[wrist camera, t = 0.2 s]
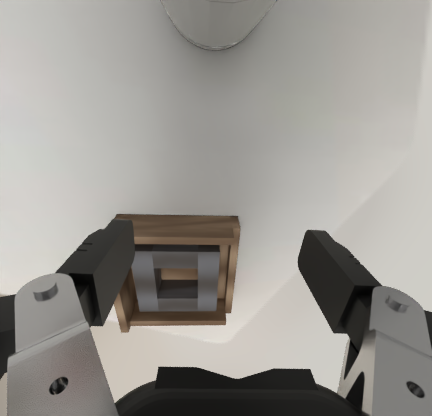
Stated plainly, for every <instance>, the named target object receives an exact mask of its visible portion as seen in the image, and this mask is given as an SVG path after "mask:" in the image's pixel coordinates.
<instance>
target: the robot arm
mask: <svg viewBox="0 0 432 416" xmlns="http://www.w3.org/2000/svg"><path fill="white" fill-rule="evenodd" d="M276 1H277V0H161V2H162V4H163V6H164V8H165V10H166V12H167V13H168V15H169V17H170V19H171V20H172V22H173V24H174V26H175V27H176V29H177V30H178V31H179V32H180V33H181V34H182V35H183V37H184V38H186V39H187V40H188V41H190V42H191V43H192V44H194V45H196V46H198V47H201V48H203V49H208V50H223V49H226V48H229V47H232V46H234V45H236V44H237V43H239V42H240V41H242V40H243V39H244V38H245V37H246V36H247V35H248V34H249V33H250V32H251V31H252V30H253V29H254V27H255V26H256V25H257V24H258V23H259V22H260V20H261V19H262V18H263V17H264V16H265V14H266V13H267V12H268V11H269V10H270V8H271V7H272V6H273V5H274V3H275V2H276ZM134 257H135V242H134V230H133V222H132V220H125V219H113V220H112V221H111V222H110V223H109V224H108V226H107V227H106V228H105V229H99V230H97V231H96V232H94V233H92V234H91V235H89V236H88V237H87V238H86V239H85V240H84V241H83V243H82V244H81V245H80V246H79V247H78V248H77V250H76V251H74V253H73V254H72V255H71V256H70V257H69V258H68V259H67V260H66V261H65V263H64V264H63V265H62V266H61V267H60V268H59V269H58V270H57V271H56V273H55V274H48V275H44V276H41V277H38V278H36V279H34V280H32V281H30V282H29V283H27V284H26V285H24V286H23V287H22V288H21V289H20V290H19V291H18V292H17V294H15V295H10V296H4V297H0V379H1V378H2V376H3V375H4V373H6V372H7V416H432V312H429V311H425V310H423V308H422V307H421V306H420V304H419V303H418V302H416V301H415V300H414V299H413V298H411V297H410V296H408V295H407V294H405V293H403V292H401V291H399V290H397V289H394V288H391V287H386V286H382V285H381V284H380V283H379V282H378V281H377V280H376V279H375V278H374V277H373V276H372V275H371V274H370V273H369V271H368V270H367V269H366V268H365V267H364V266H363V265H361V264H360V262H359V261H358V260H357V259H356V258H354V256H353V255H352V254H351V252H350V251H349V250H348V249H347V248H345V247H343V246H342V245H340V244H339V243H337V242H335V241H334V240H333V239H332V237H331V236H330V235H329V234H328V233H327V232H326V231H320V230H307V231H306V233H305V235H304V239H303V242H302V246H301V249H300V253H299V256H298V267H299V270H300V272H301V274H302V276H303V278H304V280H305V281H306V283H307V285H308V287H309V289H310V291H311V292H312V294H313V296H314V298H315V300H316V302H317V304H318V305H319V307H320V309H321V311H322V313H323V315H324V316H325V318H326V320H327V322H328V324H329V326H330V327H331V329H332V331H333V333H345V334H348V336H349V340H348V342H347V345H346V350H345V356H344V361H343V366H342V371H341V377H340V382H339V387H338V391H337V393H335V392H334V391H332V390H330V389H328V388H326V387H323V386H321V385H319V384H316V383H315V381H314V378H313V375H312V373H311V370H310V369H271V370H268V371H264V372H261V373H258V374H254V375H251V376H247V377H244V378H240V379H234V378H230V377H227V376H224V375H220V374H217V373H214V372H210V371H207V370H204V369H201V368H197V367H158V374H157V378H156V381H152V382H149V383H147V384H144V385H142V386H140V387H138V388H136V389H134V390H132V391H131V392H129V393H128V394H126V395H125V396H123V397H122V398H121V399H119V400H118V401H117V402H116V403H114V400H113V397H112V394H111V391H110V388H109V385H108V382H107V379H106V376H105V373H104V370H103V367H102V364H101V361H100V358H99V355H98V352H97V349H96V346H95V342H94V340H93V337H92V333H91V331H90V327H91V326H103V325H104V323H105V321H106V319H107V317H108V314H109V312H110V310H111V308H112V306H113V304H114V302H115V300H116V298H117V295H118V293H119V291H120V289H121V287H122V285H123V283H124V281H125V279H126V276H127V274H128V272H129V270H130V268H131V266H132V264H133V261H134Z"/></svg>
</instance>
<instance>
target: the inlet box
mask: <svg viewBox="0 0 432 416" xmlns="http://www.w3.org/2000/svg"><path fill="white" fill-rule="evenodd" d="M114 219H125V220H132V222H133V230H134V242H135V257H134V261H133V264H132V266H131V268H130V270H129V272H128V274H127V276H126V279H125V281H124V283H123V285H122V287H121V289H120V291H119V293H118V295H117V298H116V300H115V302H114V306H115V310H116V314H117V318H118V321H119V325H120V329H121V332H129V329H130V326H170V325H226V314H225V313H231V309H232V300H233V291H234V282H235V273H236V264H237V255H238V246H239V237H240V225H239V220H238V216H191V215H132V214H117V215H116V217H115V218H114Z"/></svg>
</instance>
